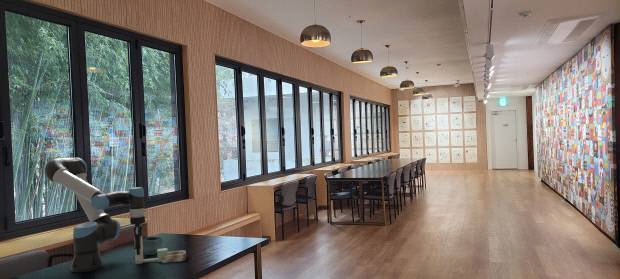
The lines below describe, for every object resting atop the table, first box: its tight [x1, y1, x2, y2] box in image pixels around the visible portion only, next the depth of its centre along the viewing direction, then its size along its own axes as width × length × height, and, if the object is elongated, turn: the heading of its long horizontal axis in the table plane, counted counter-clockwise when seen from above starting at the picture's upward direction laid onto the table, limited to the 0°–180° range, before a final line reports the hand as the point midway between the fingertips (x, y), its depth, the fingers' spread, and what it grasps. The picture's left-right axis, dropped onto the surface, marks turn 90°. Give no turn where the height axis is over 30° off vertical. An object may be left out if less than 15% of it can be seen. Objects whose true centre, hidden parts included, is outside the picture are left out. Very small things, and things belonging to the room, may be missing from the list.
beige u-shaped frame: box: [161, 249, 187, 264], centre depth 249 cm, size 12×9×4 cm
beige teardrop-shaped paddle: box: [133, 236, 169, 265], centre depth 246 cm, size 16×5×14 cm, turn 104°
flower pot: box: [142, 236, 163, 256], centre depth 264 cm, size 9×9×9 cm
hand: (139, 259), depth 244 cm, fingers closed on beige teardrop-shaped paddle, 4 cm apart
